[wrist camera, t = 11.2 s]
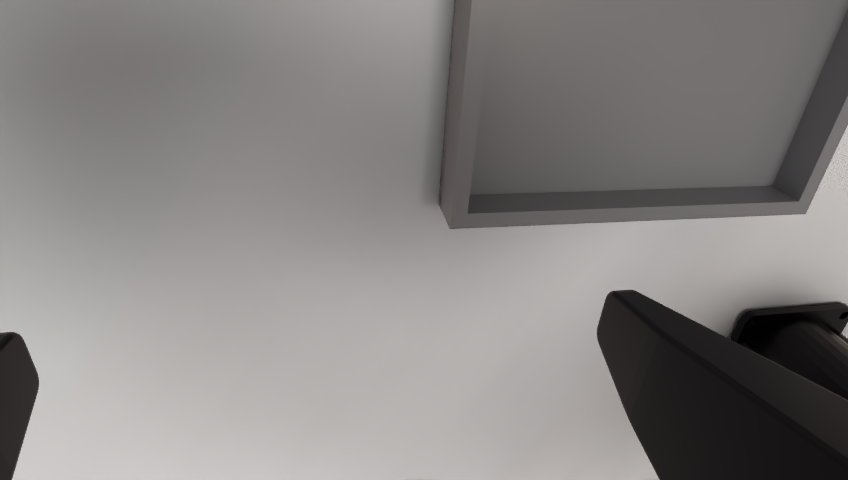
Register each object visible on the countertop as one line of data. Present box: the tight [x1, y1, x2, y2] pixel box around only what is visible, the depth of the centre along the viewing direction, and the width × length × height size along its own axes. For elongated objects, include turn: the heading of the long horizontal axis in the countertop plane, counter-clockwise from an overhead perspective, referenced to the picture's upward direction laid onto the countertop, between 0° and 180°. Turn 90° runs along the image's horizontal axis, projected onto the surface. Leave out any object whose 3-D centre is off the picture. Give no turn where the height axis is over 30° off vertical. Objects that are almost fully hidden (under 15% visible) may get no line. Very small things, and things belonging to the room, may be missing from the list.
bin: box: [439, 0, 848, 229], centre depth 20 cm, size 15×10×2 cm
